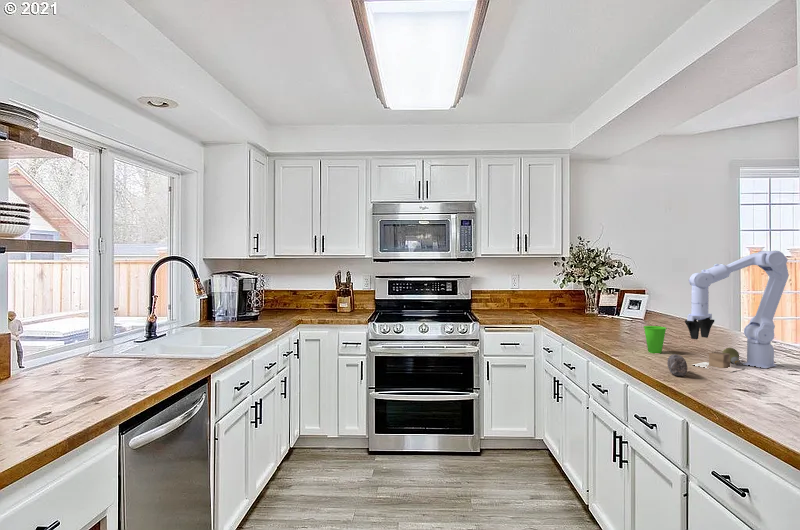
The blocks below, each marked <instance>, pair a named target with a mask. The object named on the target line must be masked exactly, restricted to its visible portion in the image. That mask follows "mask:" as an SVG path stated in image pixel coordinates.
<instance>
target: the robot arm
mask: <svg viewBox="0 0 800 530" xmlns="http://www.w3.org/2000/svg"><path fill="white" fill-rule="evenodd" d="M788 260H789V259H788V258H787V257H786V256H785V254H784V253H783V252H782V251H780V250H760V251H758V252H754V253H750V254H749V255H746V256H743V257H741V258H739V259H737V260H734V261H733V262H730V263H728V264H722V263H715V264H713V266H712V267H709V268H707V269H701V272H694V273H692V274H691V275H690V277H689V279H688V283H689V285H690V286H691V294H690V295H691V297H690V300H691V301H690V302H691V304H690V305H691V306H690V308H691V310H690V311H691V312H690V313H688V314H687V316H686V318H687V319H686V320H684V323H685V325H686V327H687V329H688V331H689V336H690V339H692V340H698V339H699V335H700V337H701V338H704V339H705V338H707V339H708V338H709V336H710V332H711V329H712V326H713V324H715V319H713V314H712V313H709V298H710V297H709V295H710V294H709V293H710V292H709V287H710V286H711V284H714V283H717V282H719V281H722V280H726V279H727V278H729V277H730V275H731V273H733V272H736V271H739V270H741V269H745V268H747V267H750V266H757V267H759V268H760V269H762V270H763V271H764V272H765V273H766V274H767V276H768V280H767V283H766V286H765V288H764V291H763V294H762V297H761V300H760V302H759V306H758V309H757V311H756V313H755V315H754V316H753V317H752V318H751V319H750V320H749V322H748V324H746V326H745V327H744V329H743V334H744V336H745V337H746V339H747V340H746V341H747V342H746V346H747V347H746V361H745V362H744V363H743V362H742V364H743V365H744V366H748V365H750V367H754V366H756V368H760V367H761V369H768V368H773V367H776V366H778V365H777V364H776V363H775V348H774V346H773V345H772V343H771V342H772V341H773V340H774V338H775V327H776V325H775V323H774V321H773V320H774V318H775V314H776V311H777V309H778V307H779V303H780V301H781V297H782V295H783V293H784V289H785V288H786V287H785V286H786V284H787V281H788V279H789V269H788V265H787V263H788ZM742 364H741V365H742Z"/></svg>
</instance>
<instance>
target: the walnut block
mask: <svg viewBox="0 0 800 530" xmlns="http://www.w3.org/2000/svg"><path fill="white" fill-rule="evenodd" d="M708 363H709V366H712V367H717V368H728V367H730V366H731V362H730V354H728V353H722V351H712V352H708Z"/></svg>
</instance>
